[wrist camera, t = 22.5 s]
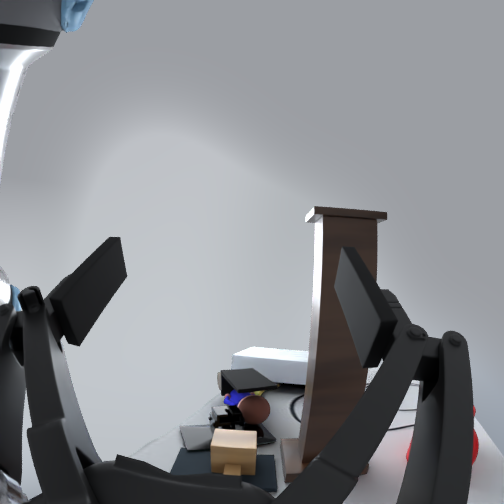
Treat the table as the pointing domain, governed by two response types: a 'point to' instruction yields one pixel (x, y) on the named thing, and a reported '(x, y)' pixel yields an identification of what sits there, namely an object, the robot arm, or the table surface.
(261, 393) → the banana
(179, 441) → the table surface
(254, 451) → the wooden toy mallet
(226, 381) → the figurine character
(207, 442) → the black angular block
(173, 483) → the robot arm
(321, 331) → the stand
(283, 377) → the skincare box
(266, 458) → the mat
